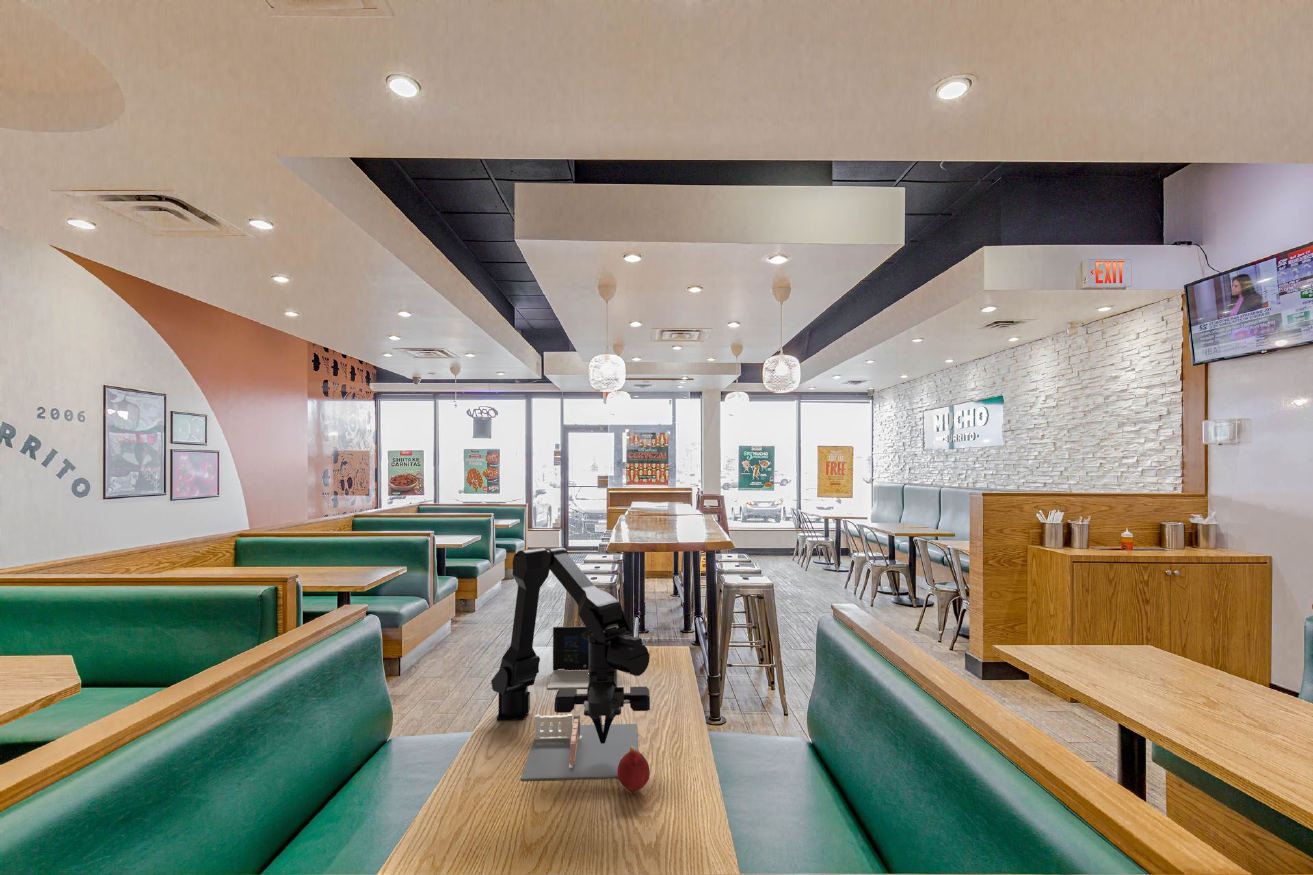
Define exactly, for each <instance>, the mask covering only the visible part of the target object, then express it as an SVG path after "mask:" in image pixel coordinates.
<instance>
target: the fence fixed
mask: <svg viewBox="0 0 1313 875" xmlns="http://www.w3.org/2000/svg"><path fill="white" fill-rule="evenodd" d="M541 723H543V726H544V730H540V726H541ZM551 723H552V726H553V730H550V726H551ZM559 723H560V724H559ZM559 725H561V730H559ZM572 725H573V713H567V714H562V715H559V714H558V715H557V714H556V715H555V714H554V715H541V714H535V716H534V738H535V740H538V739H540V736H544V737H549V736H553V737H558V736H561V737H567V739H571V736H572Z"/></svg>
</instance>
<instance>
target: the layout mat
mask: <svg viewBox="0 0 1313 875" xmlns="http://www.w3.org/2000/svg"><path fill="white" fill-rule="evenodd" d="M602 726H603V730H604V724H602ZM540 730H544V725H540ZM550 730H553V725H550ZM559 730H561V724H559ZM572 730H573V724H572ZM638 740H639V739H638V724H637V723H621V724H620V723H616V724H615V723H614V724H613V723H611V725H610V728H609V732H608V735H607V738H606V741H605V744H601V743H600V740H599V737H598V734H597V731H596V728H595V725H594V724H580V737H579V738H578V745H577V752H576V759H575V764H574V765H570V758H571V749H570V742H571V739H567V737H561V736H558V737H553V736H549V737H544V736H540V739H538V740H535V737H534V738H533V741H532V744H531V748H530V750H529V753H528V757H527V759H526V762H525V765H524V767H523V771H522V773H521V777H520V781H546V780H547V781H548V780H581V779H582V780H583V779H585V780H587V779H589V780H590V779H618V775H617V770H618V765H619V762H620V760H621V759H622V758H623V756H624V755H625V754H627V753H628V752H630V747H631V746H633V747H634V748H635V749H636V750H637V751H638V752H639V747H638V746H639V744H638V743H639V742H638Z"/></svg>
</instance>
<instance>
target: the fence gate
mask: <svg viewBox="0 0 1313 875" xmlns="http://www.w3.org/2000/svg"><path fill="white" fill-rule="evenodd" d="M572 725H573V730H572V736H571V742H570V749H571V758H570V765H574V764H575V759H576V752H577V745H578V738H579V737H580V725H581V715H580V714H578V713H575V714H574V715H573V723H572Z"/></svg>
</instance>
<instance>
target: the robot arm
mask: <svg viewBox="0 0 1313 875" xmlns="http://www.w3.org/2000/svg"><path fill="white" fill-rule="evenodd" d="M550 571H551V573H552V574H553V576H555V578H556V579H557V581H559V583H560V584H561V586H563V587H564V589H565V590H566V592H567V593H568V594H569V595H570V596H571V598H573V600H574V601H575V603H576V604H577V606H578V609H577V610H578V616H579V617H580V620H581V621H582V624H583V625H584V626H586V628H587V631H586V632H584V633H583V634H582V638H585V639H588V640H589V685H588V688H586V689H587V691H586V693H578V688H560V689H557V691H556V695H555V698H554V713H557V714H560V713H562V714H563V713H564V714H565V713H567V714H571V712H572V711H574V709H575V705H583V709H584V710H583V716H585V717H589V718H590V719H591V721H592V722H593V725H595V728H596V731H597V734H598V737H599V740H600V743H601V744H605V741H606V738H607V735H608V732H609V728H610V725H611V724H613V723H612V722H613V721H614V719H615V717H616V716H620V715H621V714H622V708H624V706H625V704H629V707H630V709H631V710H632V711H633V712H648V711H651V701H650V700H651V698H650V697H651V696H650V689H649V688H648V686H630V687H629V692H625V688H624V686H618V671H619V672H623V673H626V674H628V675H631V676H634V677H640V676H641V675H643V674H644V673H645V671H646V670H647V668H648V666H649V665H650V664H649V663H650V656H651V655H650V653H649V650H648V648H647V647H646V645H644V644H643V639H642V637H638V636H631V635H633V630H632V627H631V624H630V622H629V620H628V618H627V617H626V615H625V612H624V610H623V606H622V604H621V603H620V601H619V600H618V599H616V598H615V597H614V596H613V595H611V594H610V593H609V592H608V591H604V590H602V589H601V588H598V587H596V586H595V584H594V583H593V582H592V581H591V580H590V579H589V578H588V576H587V575H586V574H585V573H584V572H583V570H582V569H581V568H580V567H579V566H578V565H577V564H576V562H575V561H574V560H573V559H572V558H571V557H570V555H569V552H568V550H567V549H566V548H564V547H561V546H560V547H554V548H553V547H550V548H547V549H546V548H545V547H536V548H528V549H522V550H518V551H516V553H514V555H513V558H512V577H513V579H514V581H515V582H516V585H517V592H516V593H517V594H516V601H515V608H514V614H513V615H514V616H513V617H514V618H513V622H512V623H513V624H512V632H511V633H512V634H511V641H510V645H509V647H508V649H507V650H506V651H505V653H504V654H503V656H502V658H501V662H500V666H499V670H498V671H497V672H496V674H495V675H494V676H493V678H492V679H491V681H490V684H491V688H492V691H494V692H496V693H498V714H497V716H496V720H497V721H508V720H509V721H510V720H511V721H512V720H519V721H520V720H525V719H526V717H527V714H529V712H530V709H531V691H529V688H528V687H530V686H532V687H533V686H535V683H536V682H535V681H536V677H537V676H538V673H539V672H540V670H539V668H540V666H539V665H540V662H541V658H540V655H539V656H538V655H537V653H536V652H535V650H534V648H533V646H534V637H535V629H536V623H537V622H536V621H537V614H538V606H539V599H540V590H541V587H542V586H543V584H544V582H546V580H547V579H548V577H549V574H550ZM616 626H617V628H616V629H613V630H609V631H606V632H605V631H603V630H606V629H609V628H613V627H616ZM603 717H604V722H603V720H602V719H603ZM603 723H604V724H603ZM602 725H604V730H603V726H602Z"/></svg>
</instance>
